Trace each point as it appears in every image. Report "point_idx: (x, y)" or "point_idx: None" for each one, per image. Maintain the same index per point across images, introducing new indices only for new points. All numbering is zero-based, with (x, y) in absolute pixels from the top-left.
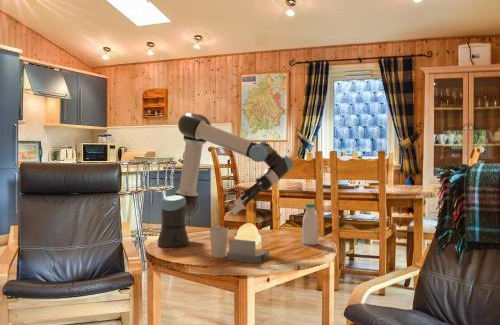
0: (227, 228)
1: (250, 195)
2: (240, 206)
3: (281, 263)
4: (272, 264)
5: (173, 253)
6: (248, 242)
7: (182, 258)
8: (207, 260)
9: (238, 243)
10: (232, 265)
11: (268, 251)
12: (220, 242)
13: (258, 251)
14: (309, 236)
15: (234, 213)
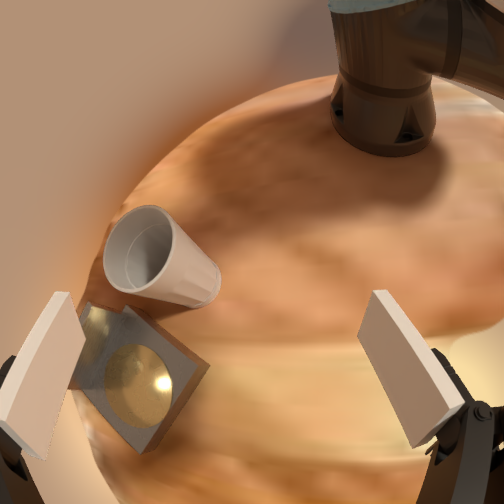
0: (133, 289)
1: (43, 502)
2: (406, 398)
3: (101, 456)
4: (92, 429)
5: (247, 140)
6: None
7: (179, 177)
8: None
9: None
10: None
11: (137, 451)
12: (140, 273)
13: (129, 416)
14: None
15: (361, 332)
